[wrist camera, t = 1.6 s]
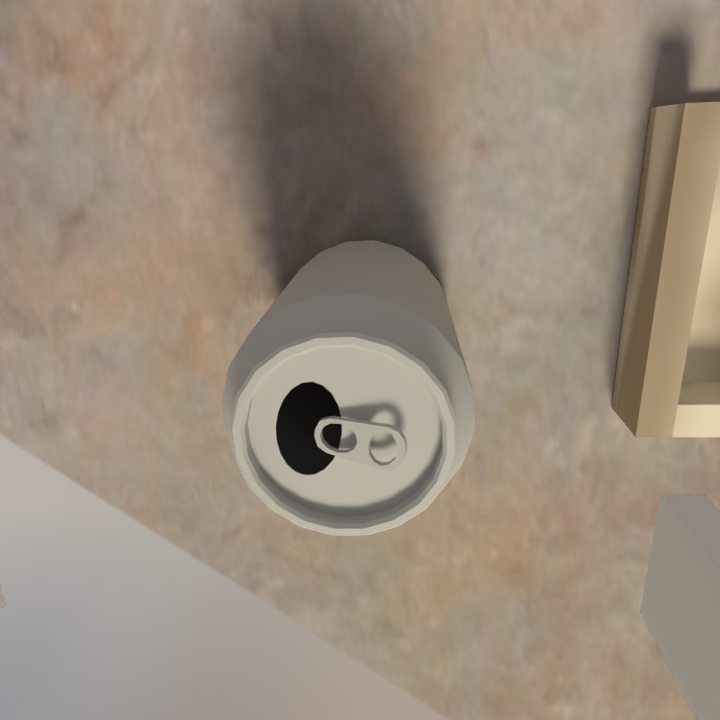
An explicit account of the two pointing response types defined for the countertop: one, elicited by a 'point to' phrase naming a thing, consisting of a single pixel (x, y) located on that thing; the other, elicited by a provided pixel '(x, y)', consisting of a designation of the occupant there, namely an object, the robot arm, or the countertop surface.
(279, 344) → the can
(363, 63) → the countertop surface
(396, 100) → the countertop surface
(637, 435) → the can rest
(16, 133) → the countertop surface
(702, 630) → the robot arm
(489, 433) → the countertop surface
